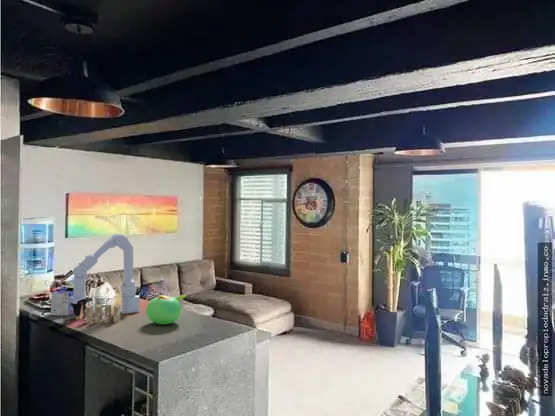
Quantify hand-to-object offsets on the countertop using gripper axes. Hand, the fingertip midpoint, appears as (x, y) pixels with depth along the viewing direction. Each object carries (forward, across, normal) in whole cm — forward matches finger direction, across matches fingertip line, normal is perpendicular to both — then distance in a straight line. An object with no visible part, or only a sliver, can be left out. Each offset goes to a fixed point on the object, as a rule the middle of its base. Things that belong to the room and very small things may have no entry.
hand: (79, 314), depth 219 cm
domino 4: (+2, +8, +17) cm, 19 cm away
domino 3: (+2, +8, +12) cm, 15 cm away
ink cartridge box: (+2, -10, -12) cm, 15 cm away
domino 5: (+2, +8, +21) cm, 23 cm away
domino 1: (+2, 0, 0) cm, 2 cm away
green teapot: (+2, +15, +46) cm, 48 cm away
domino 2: (+2, +8, +8) cm, 11 cm away
